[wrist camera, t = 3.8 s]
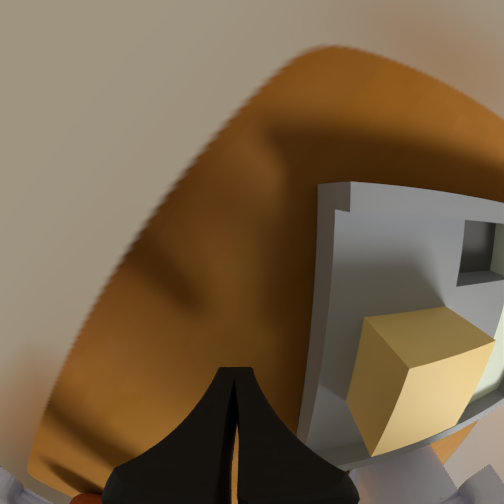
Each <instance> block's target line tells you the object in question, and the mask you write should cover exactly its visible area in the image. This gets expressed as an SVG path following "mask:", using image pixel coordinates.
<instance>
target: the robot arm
mask: <svg viewBox="0 0 504 504" xmlns="http://www.w3.org/2000/svg"><path fill="white" fill-rule="evenodd" d="M237 426H238V434H239V455H238V484H237V499H238V504H504V483H503V482H502V480H501V479H500V477H499V476H498V475H497V473H496V472H495V470H494V469H493V468H492V466H491V465H487V466H486V467H484V468H483V469H482V470H480V471H479V472H477V473H476V474H474V475H473V476H471V477H470V478H469V479H468V480H466V481H465V482H464V483H463V484H462V485H461V486H460V487H459V489H457V487H456V486H455V484H454V483H453V481H452V479H451V478H450V476H449V474H448V473H447V471H446V470H445V468H444V466H443V465H442V463H441V461H440V460H439V458H438V457H437V455H436V453H435V452H434V450H433V449H432V447H431V446H430V444H429V445H426V446H424V447H421V448H419V449H416V450H414V451H411V452H408V453H406V454H403V455H400V456H397V457H394V458H391V459H388V460H385V461H382V462H378V463H375V464H371V465H368V466H364V467H360V468H356V469H352V470H350V472H349V474H347V472H345V471H343V470H341V469H339V468H338V467H336V466H334V465H333V464H331V463H329V462H328V461H326V460H325V459H323V458H322V457H320V456H319V455H318V454H316V453H315V452H313V451H312V450H311V449H310V448H309V447H307V446H306V445H305V444H304V443H303V442H302V441H300V440H299V439H298V438H297V437H296V436H295V435H294V434H293V433H292V432H291V431H290V430H289V429H288V428H287V426H286V425H285V424H284V423H283V422H282V421H281V419H280V418H279V417H278V416H277V414H276V413H275V412H274V410H273V409H272V407H271V406H270V404H269V403H268V401H267V399H266V398H265V396H264V394H263V393H262V391H261V389H260V387H259V385H258V383H257V380H256V378H255V375H254V371H253V369H252V368H251V367H220V368H219V369H218V370H217V373H216V375H215V377H214V379H213V381H212V382H211V384H210V386H209V388H208V389H207V391H206V392H205V394H204V395H203V397H202V398H201V400H200V401H199V402H198V404H197V405H196V406H195V408H194V409H193V410H192V411H191V413H190V414H189V415H188V416H187V417H186V418H185V419H184V420H183V422H182V423H181V424H180V425H179V426H178V427H177V428H176V429H174V430H173V431H172V432H171V433H170V434H169V435H168V436H166V437H165V438H164V439H163V440H162V441H160V442H159V443H158V444H156V445H155V446H153V447H152V448H150V449H149V450H147V451H146V452H144V453H143V454H141V455H139V456H138V457H136V458H134V459H132V460H130V461H128V462H126V463H124V464H122V465H120V466H118V467H116V468H114V470H113V472H112V473H111V475H110V477H109V478H108V480H107V482H106V485H105V488H104V490H103V493H102V496H101V502H102V504H232V501H231V472H232V460H233V452H234V444H235V435H236V427H237ZM0 504H53V503H52V502H49V501H48V500H46V499H44V498H42V497H41V496H38V495H37V494H35V493H33V492H32V491H30V490H29V489H27V488H25V487H24V486H23V485H22V483H21V482H20V481H19V480H18V479H16V478H15V477H14V476H13V475H12V474H10V473H9V472H8V471H6V470H5V469H3V468H2V467H1V466H0Z"/></svg>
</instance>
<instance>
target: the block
mask: <svg viewBox="0 0 504 504" xmlns="http://www.w3.org/2000/svg"><path fill="white" fill-rule="evenodd" d="M495 342H496V340H495V339H493V338H492V337H490V336H489V335H488V334H486V333H485V332H483V331H482V330H480V329H479V328H478V327H476V326H475V325H473V324H472V323H470V322H469V321H467V320H466V319H464V318H463V317H461V316H460V315H458V314H457V313H455V312H454V311H452V310H451V309H449V308H448V307H446V306H444V307H438V308H431V309H425V310H418V311H411V312H404V313H396V314H388V315H379V316H370V317H364V320H363V326H362V332H361V337H360V342H359V347H358V352H357V357H356V362H355V366H354V370H353V375H352V379H351V383H350V387H349V391H348V394H347V398H346V403H347V405H348V407H349V409H350V412H351V414H352V416H353V418H354V420H355V423H356V425H357V427H358V429H359V431H360V434H361V436H362V438H363V440H364V443H365V445H366V447H367V449H368V452H369V454H370V456H371V457H373V456H377V455H380V454H384V453H387V452H390V451H393V450H396V449H399V448H402V447H405V446H408V445H411V444H413V443H416V442H419V441H421V440H424V439H426V438H429V437H431V436H433V435H436V434H438V433H440V432H442V431H445V430H447V429H449V428H451V427H453V426H455V425H456V423H457V422H458V420H459V418H460V417H461V415H462V413H463V412H464V410H465V408H466V406H467V404H468V402H469V401H470V399H471V397H472V395H473V393H474V391H475V389H476V387H477V385H478V383H479V381H480V378H481V376H482V374H483V372H484V370H485V367H486V365H487V362H488V360H489V358H490V355H491V353H492V350H493V347H494V345H495Z"/></svg>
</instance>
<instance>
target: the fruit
mask: <svg viewBox="0 0 504 504" xmlns="http://www.w3.org/2000/svg"><path fill="white" fill-rule="evenodd" d="M101 496H102V495H98V494H92V493H84V494H79V495H77V496H75V497H74V498H73V499H72V500H71V502H70V504H102V502H101Z"/></svg>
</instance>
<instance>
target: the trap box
mask: <svg viewBox="0 0 504 504" xmlns="http://www.w3.org/2000/svg"><path fill="white" fill-rule="evenodd" d="M444 306H446V307H448V308H449V309H451V310H452V311H454V312H455V313H457V314H458V315H460V316H461V317H463V318H464V319H466V320H467V321H469V322H470V323H472V324H473V325H475V326H476V327H478V328H479V329H480V330H482V331H483V332H485V333H486V334H488V335H489V336H490V337H492V338H493V339H495V340H496V342H495V345H494V347H493V350H492V353H491V355H490V358H489V360H488V362H487V365H486V367H485V370H484V372H483V374H482V376H481V378H480V381H479V383H478V385H477V387H476V389H475V391H474V393H473V395H472V397H471V399H470V401H469V402H468V404H467V406H466V408H465V410H464V412H463V413H462V415H461V417H460V418H459V420H458V422H457V423H456V425H455V426H453V427H451V428H449V429H447V430H445V431H442V432H440V433H438V434H436V435H433V436H431V437H429V438H426V439H424V440H421V441H419V442H416V443H413V444H411V445H408V446H405V447H402V448H399V449H396V450H393V451H390V452H387V453H384V454H380V455H377V456H373V457H371V456H370V454H369V452H368V449H367V447H366V445H365V443H364V440H363V438H362V436H361V434H360V431H359V429H358V427H357V425H356V423H355V420H354V418H353V416H352V414H351V412H350V409H349V407H348V405H347V403H346V398H347V394H348V391H349V387H350V383H351V379H352V375H353V370H354V366H355V362H356V357H357V352H358V347H359V342H360V337H361V332H362V326H363V320H364V317H370V316H379V315H388V314H396V313H404V312H411V311H418V310H425V309H431V308H438V307H444ZM502 404H504V203H501V202H497V201H492V200H487V199H482V198H477V197H472V196H466V195H460V194H454V193H448V192H442V191H435V190H428V189H420V188H413V187H404V186H395V185H386V184H375V183H364V182H337V183H324V184H318V210H317V243H316V264H315V281H314V295H313V308H312V319H311V330H310V340H309V349H308V358H307V366H306V374H305V382H304V389H303V396H302V403H301V410H300V416H299V422H298V428H297V438H298V439H299V440H300V441H302V442H303V443H304V444H305V445H306V446H307V447H309V448H310V449H311V450H312V451H313V452H315V453H316V454H318V455H319V456H320V457H322V458H323V459H325V460H326V461H328V462H329V463H331V464H333V465H334V466H336V467H338V468H339V469H341V470H343V471H348V470H352V469H356V468H360V467H364V466H368V465H371V464H375V463H378V462H382V461H385V460H388V459H391V458H394V457H397V456H400V455H403V454H406V453H408V452H411V451H414V450H416V449H419V448H421V447H424V446H426V445H429V444H431V443H433V442H435V441H438V440H440V439H442V438H444V437H446V436H448V435H450V434H452V433H454V432H456V431H458V430H460V429H462V428H464V427H466V426H468V425H470V424H471V423H473V422H475V421H477V420H478V419H480V418H482V417H483V416H485V415H487V414H488V413H490V412H491V411H493V410H495V409H496V408H498V407H499V406H501V405H502Z"/></svg>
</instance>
